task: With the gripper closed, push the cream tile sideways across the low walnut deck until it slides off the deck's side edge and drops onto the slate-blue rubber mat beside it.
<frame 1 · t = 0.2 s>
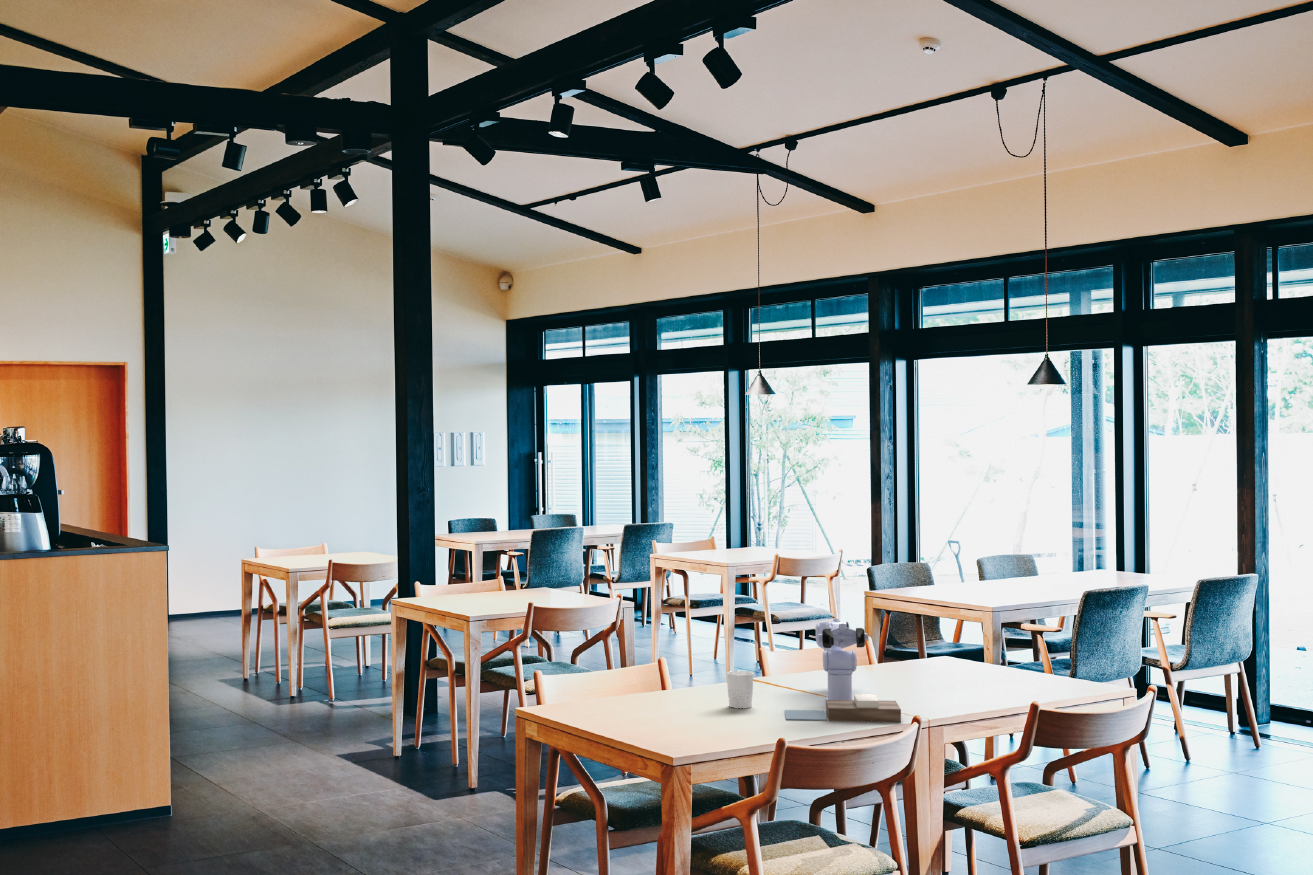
hand: (845, 640, 334), 21 cm above the table, tool horizontal, fingers open, 7 cm apart
white cup: (740, 707, 347), on the table
walnut deck: (862, 716, 332), on the table
slate mat: (805, 715, 333), on the table
cream tile: (866, 704, 332), point 3 cm above the table, touching walnut deck
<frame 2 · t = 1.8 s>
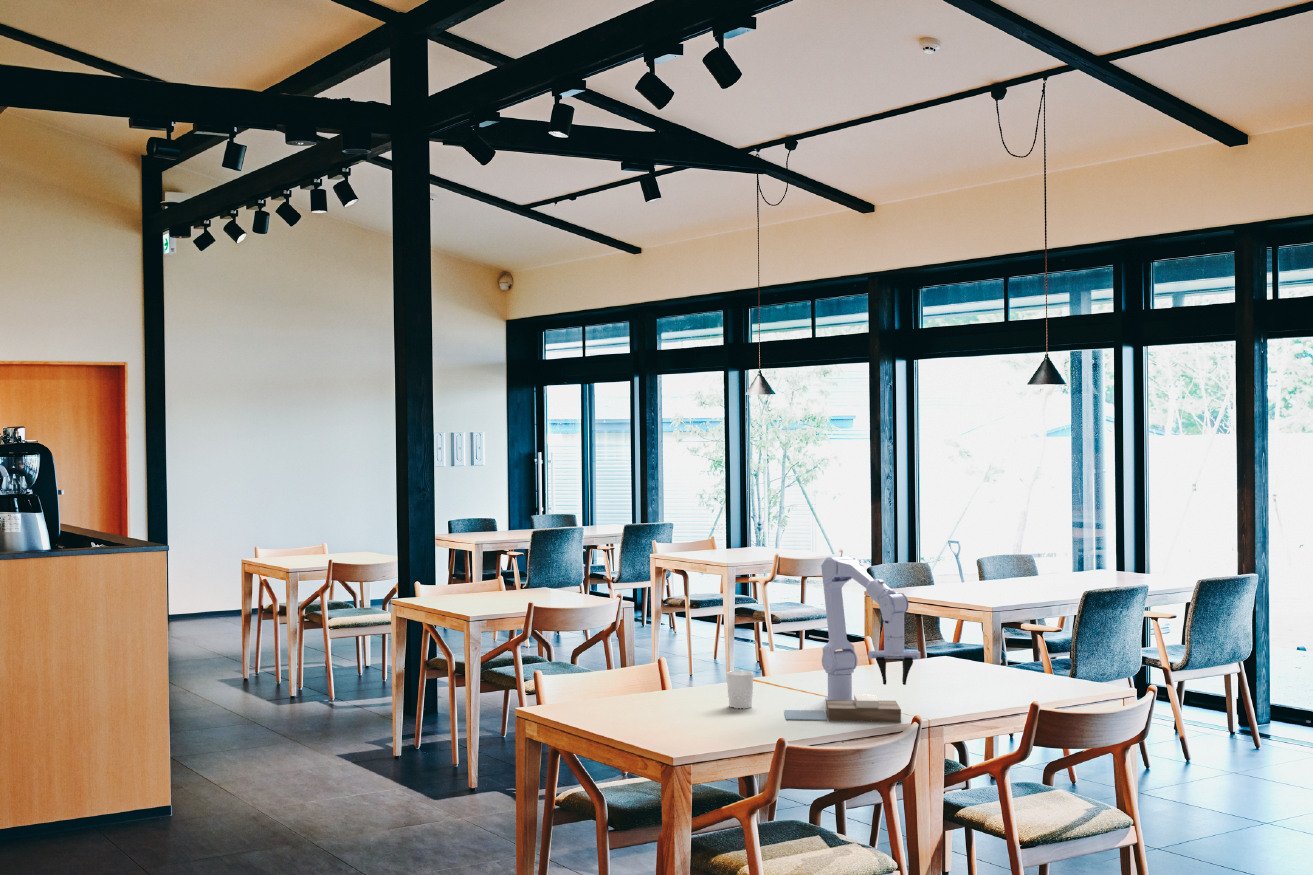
hand: (894, 684, 332), 9 cm above the table, tool pointing down, fingers open, 5 cm apart
nothing on the table moved.
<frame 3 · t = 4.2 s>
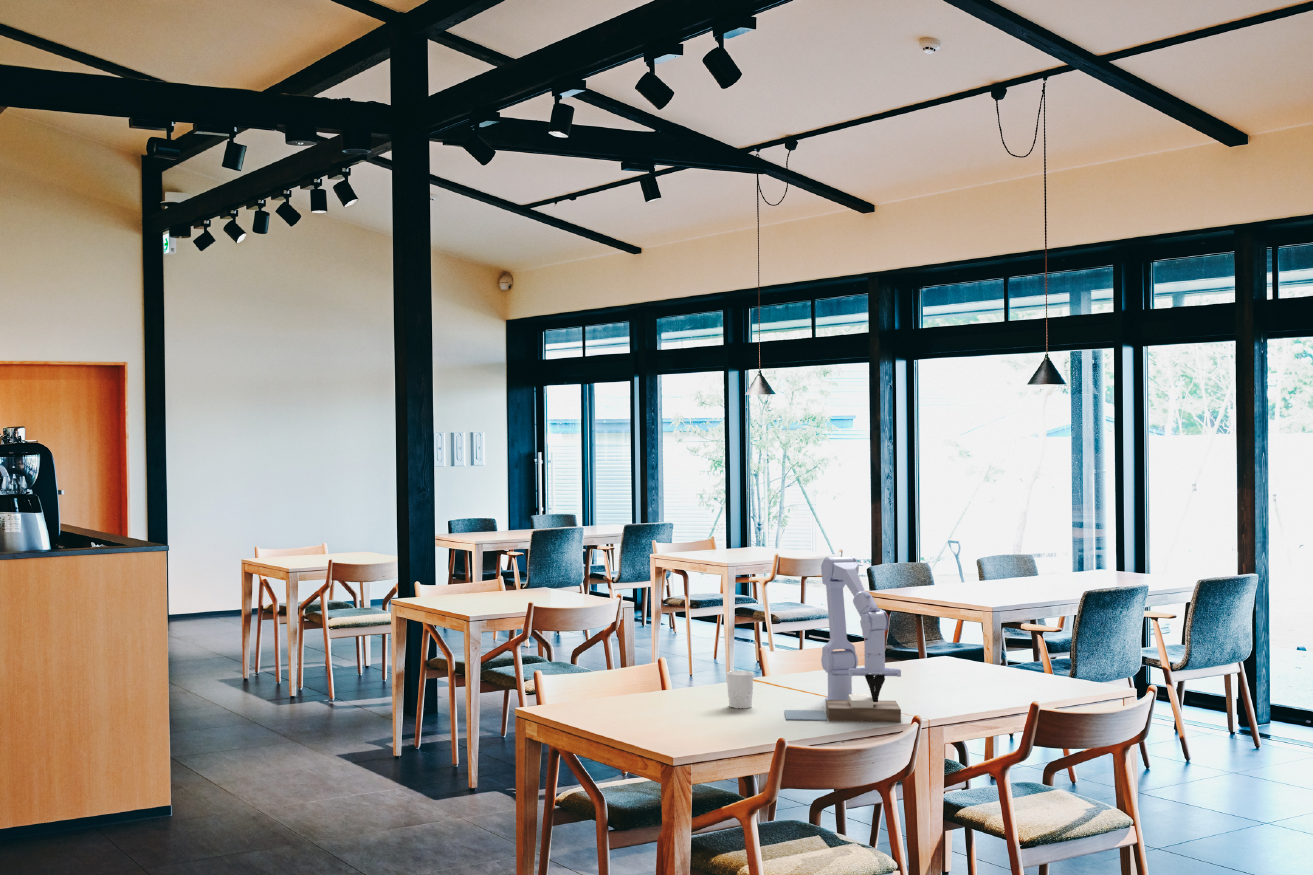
hand: (874, 701, 332), 4 cm above the table, tool pointing down, fingers closed
cream tile: (860, 704, 332), point 3 cm above the table, touching walnut deck
everything else where it was.
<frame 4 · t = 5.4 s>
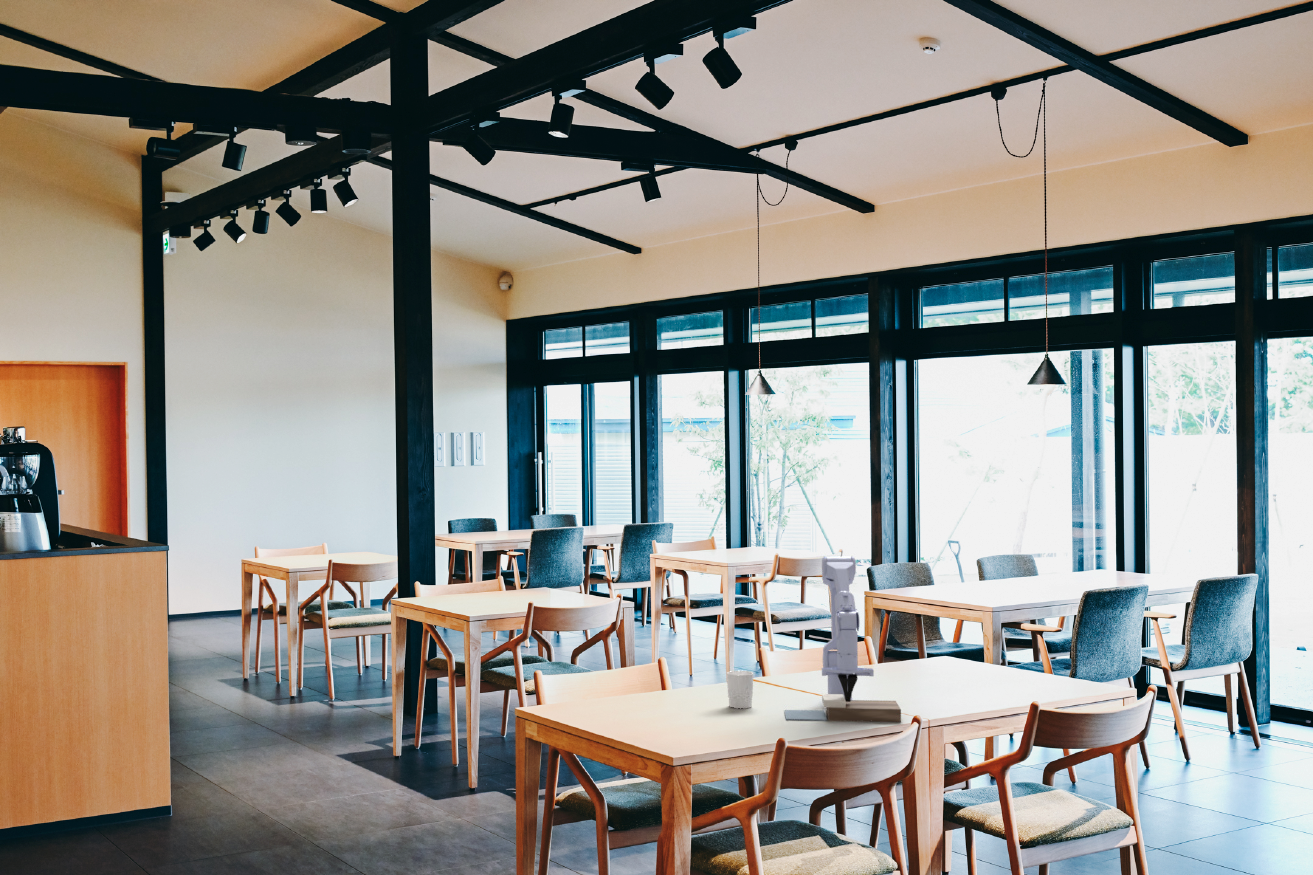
hand: (847, 700, 333), 4 cm above the table, tool pointing down, fingers closed
cream tile: (833, 704, 333), point 4 cm above the table, touching walnut deck
everything else where it was.
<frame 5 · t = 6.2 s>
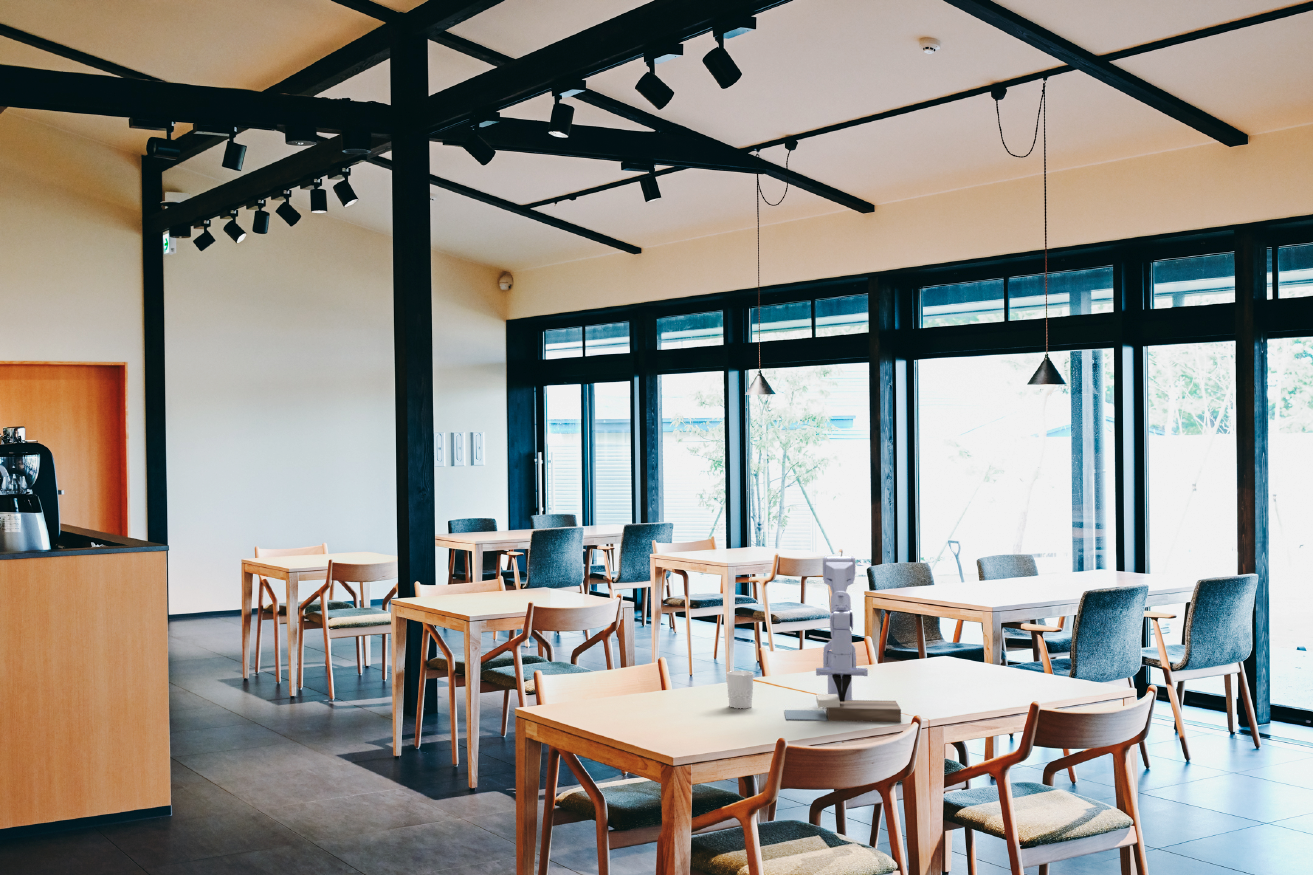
hand: (841, 700, 333), 4 cm above the table, tool pointing down, fingers closed
cream tile: (828, 703, 333), point 4 cm above the table, touching gripper, walnut deck
everything else where it was.
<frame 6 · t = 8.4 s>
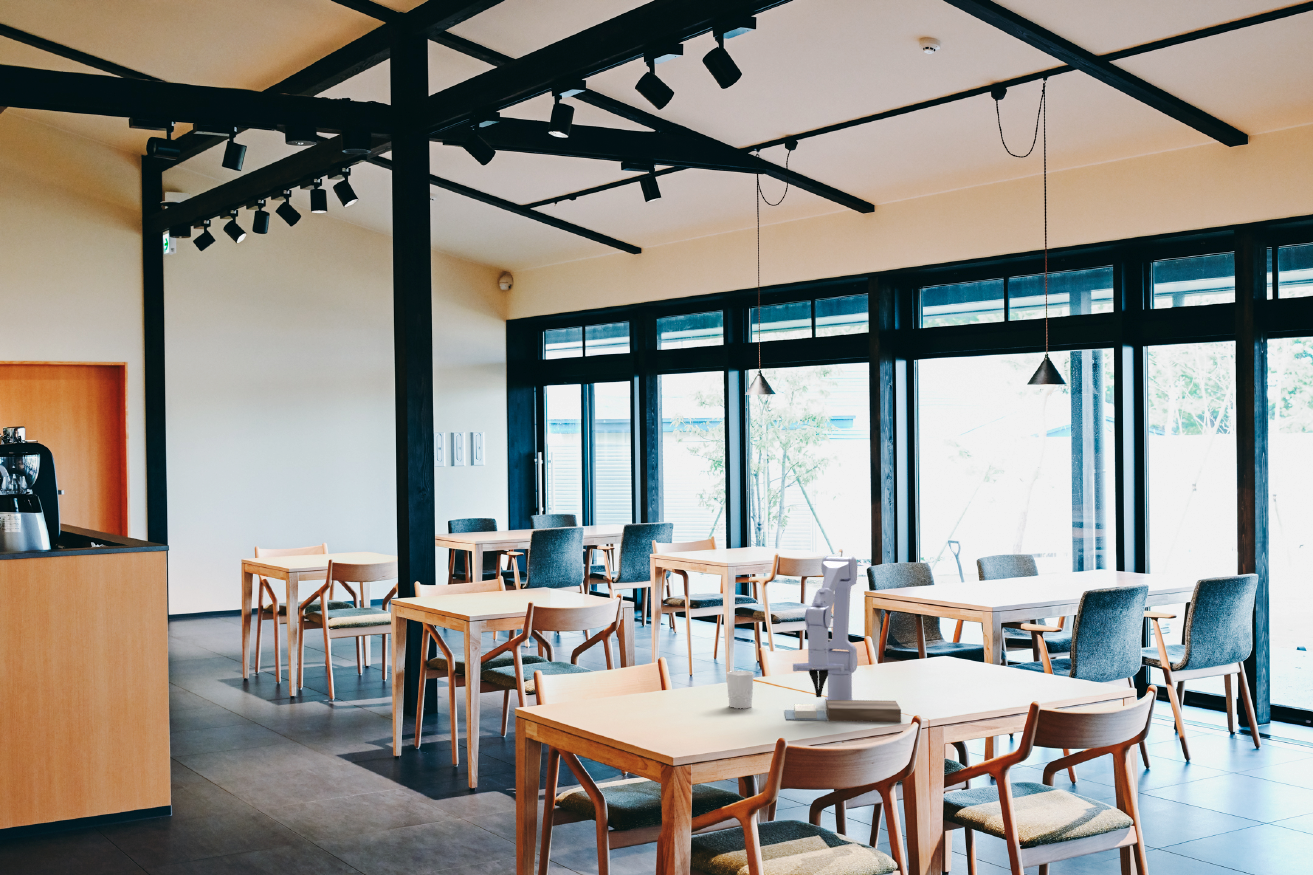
hand: (818, 696, 333), 6 cm above the table, tool pointing down, fingers closed
cream tile: (805, 707, 333), point 2 cm above the table, tilted 180°, touching slate mat
everything else where it was.
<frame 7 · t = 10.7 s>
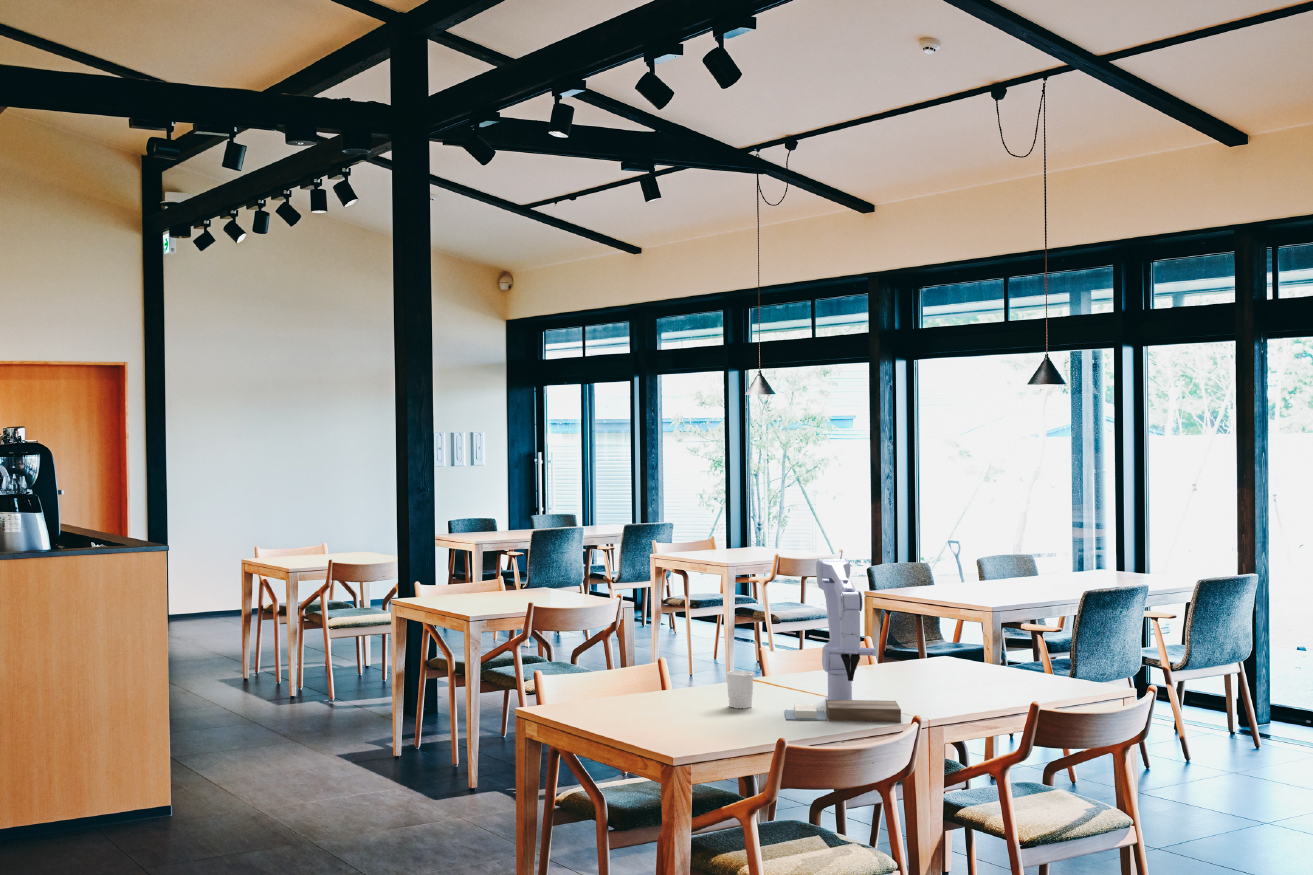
hand: (850, 680, 338), 9 cm above the table, tool pointing down, fingers closed
nothing on the table moved.
at the end: cream tile inside the target area (0.5 cm from its centre), point 2.4 cm above the table; cream tile touching slate mat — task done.
